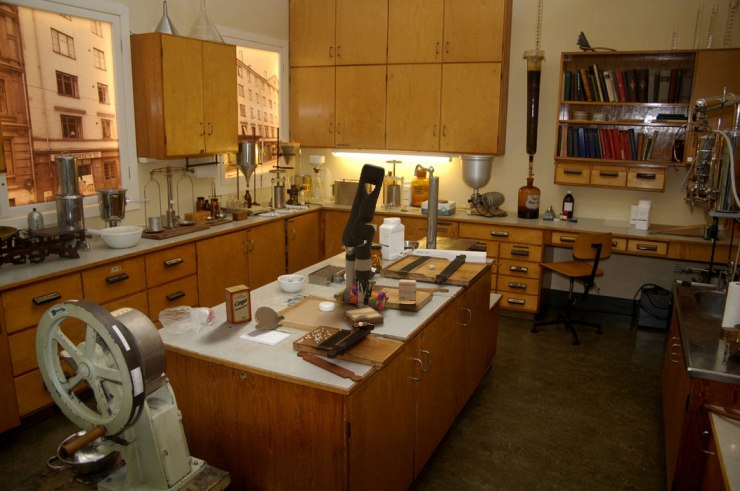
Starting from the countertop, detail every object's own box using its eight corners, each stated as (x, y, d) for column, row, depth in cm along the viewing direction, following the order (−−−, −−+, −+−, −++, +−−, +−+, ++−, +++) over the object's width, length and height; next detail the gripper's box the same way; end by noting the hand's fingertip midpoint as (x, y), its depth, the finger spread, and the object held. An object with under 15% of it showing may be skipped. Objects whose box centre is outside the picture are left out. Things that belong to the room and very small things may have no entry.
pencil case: (390, 306, 278) (390, 289, 275) (381, 312, 269) (381, 294, 267) (351, 299, 287) (351, 282, 285) (342, 305, 279) (342, 287, 277)
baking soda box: (232, 325, 254) (230, 291, 250) (226, 320, 260) (224, 287, 255) (251, 320, 260) (249, 287, 256) (245, 316, 265) (243, 283, 261)
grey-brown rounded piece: (261, 332, 244) (251, 309, 246) (252, 337, 250) (242, 314, 251) (287, 322, 255) (278, 300, 256) (278, 327, 260) (269, 305, 262)
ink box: (416, 301, 283) (416, 279, 280) (415, 305, 278) (416, 282, 275) (398, 301, 284) (399, 278, 281) (398, 304, 279) (398, 282, 276)
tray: (343, 317, 263) (343, 310, 262) (370, 312, 269) (370, 306, 268) (355, 328, 251) (355, 321, 250) (383, 322, 257) (383, 316, 256)
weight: (356, 305, 259) (356, 288, 257) (366, 303, 261) (366, 286, 259) (360, 308, 255) (360, 291, 253) (370, 307, 257) (370, 290, 255)
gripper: (377, 270, 249) (377, 306, 253) (364, 262, 261) (364, 297, 266) (362, 273, 246) (362, 309, 250) (349, 264, 258) (349, 299, 263)
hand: (363, 302), depth 258 cm, fingers closed on weight, 5 cm apart
